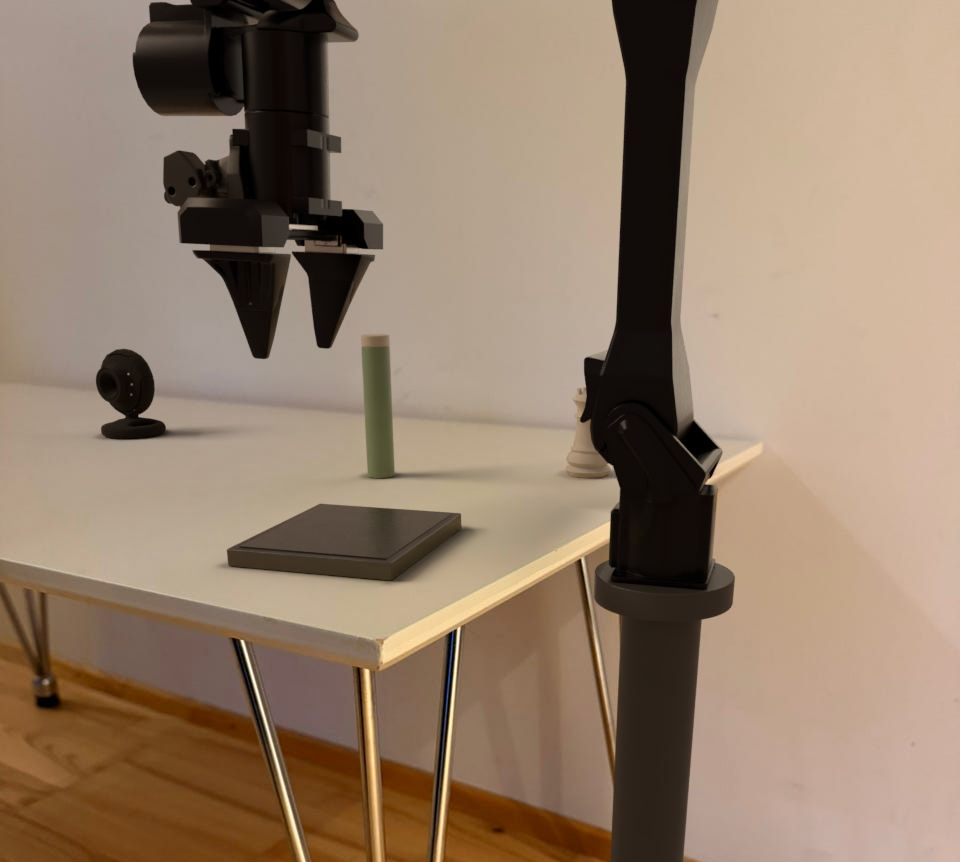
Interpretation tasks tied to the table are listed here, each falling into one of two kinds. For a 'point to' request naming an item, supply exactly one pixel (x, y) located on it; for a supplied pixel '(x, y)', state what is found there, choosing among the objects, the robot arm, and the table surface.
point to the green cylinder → (378, 405)
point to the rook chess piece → (584, 447)
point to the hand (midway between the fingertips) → (294, 353)
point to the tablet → (347, 541)
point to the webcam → (128, 395)
